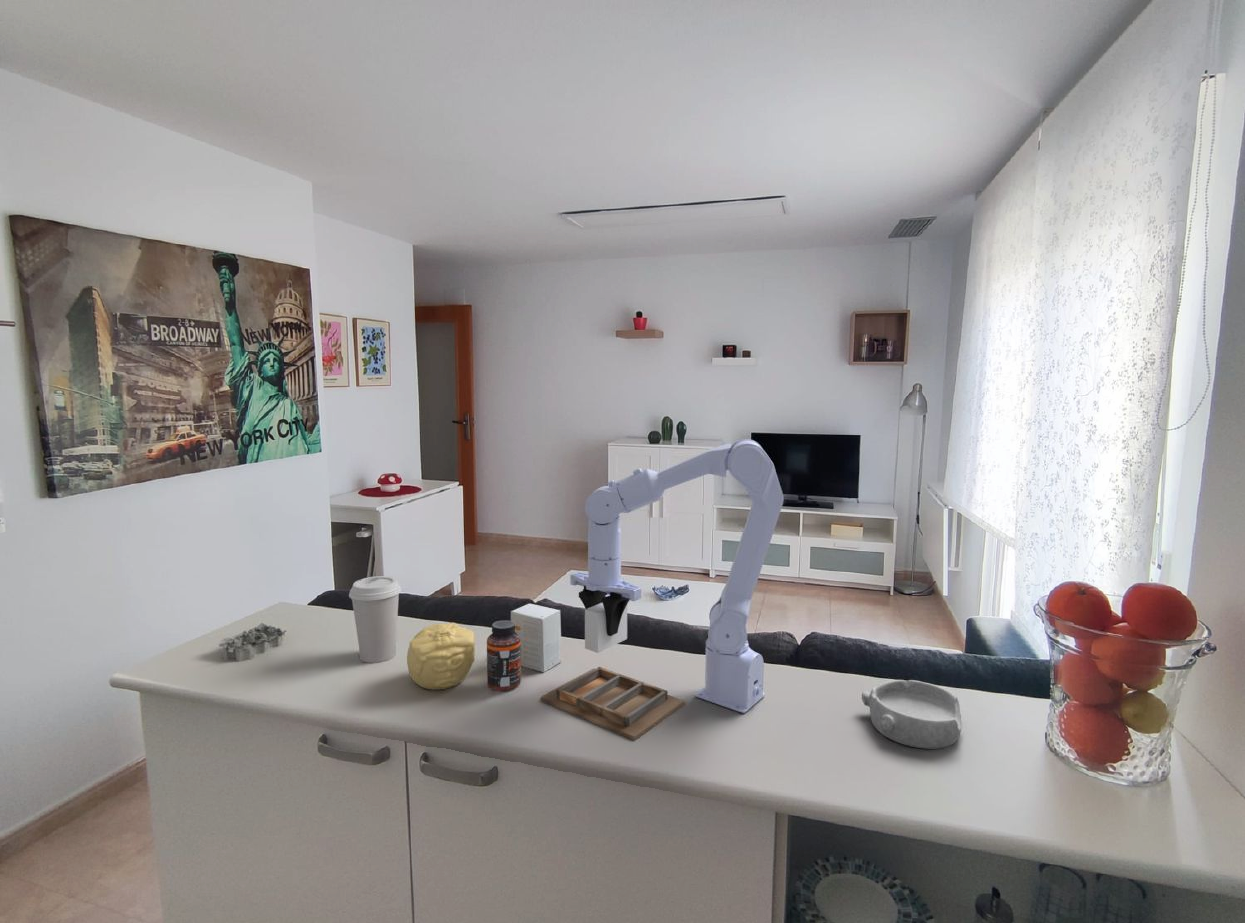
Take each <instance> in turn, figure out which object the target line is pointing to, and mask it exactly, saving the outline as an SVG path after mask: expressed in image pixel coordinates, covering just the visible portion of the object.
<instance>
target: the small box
mask: <svg viewBox="0 0 1245 923" xmlns="http://www.w3.org/2000/svg"><path fill="white" fill-rule="evenodd" d="M561 619H562V618H561V609H555V608H552V607H551V608H550V607H547V606H542V605H539V604H533V603H527V604H525V605H523V606H520V607H518V608H516V609H514V610H510V621H512V622H514V623H515V632H516V633H517V634H518V635H519V636H520V643H521V667H523V666H524V667H523V668H527V669H530V670H533V669H535V670H534V671H537V672H540V671H541V672H540V673H545V671H546V672H547V671H548V669H549V670H550V669H552V668H554V667H555V666H557V665H558V664H560V663H562V660H563V659H562V657H563V656H562V626H561V623H562V622H561Z"/></svg>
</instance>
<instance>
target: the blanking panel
mask: <svg viewBox="0 0 1245 923" xmlns="http://www.w3.org/2000/svg"><path fill="white" fill-rule="evenodd" d="M627 639H628V605H627V606H626V607H625V610H624V612H623V614H622V617H621V620H620V624H619V628H618V632H617V633H616V634H614V635H612V636H608V635H607V630H606V615H605V609H604V606H603V603H600V604H598V605H595V606H593V607H590V608H588V609H584V649H585V650H588V651H591V652H594V653H596V654H598V653H599V654H600V653H601V652H603V651H605V650H607V649H610V648H612V647H613V646H615V645H619V643H621V642H624V641H625V640H627Z"/></svg>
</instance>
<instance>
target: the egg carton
mask: <svg viewBox="0 0 1245 923" xmlns="http://www.w3.org/2000/svg"><path fill="white" fill-rule="evenodd" d="M285 633H287V630H285V629H284V631H283V630H281V628H280V627H277V628H276V626H272V625H269V626H268V625H267V624H264V623H259V624H258V625H257V626H255V627H253V628H251V629H248V630H244V631H243V632H241V633H238V634H237V635H234V636H232V637H226V638H225V637H224V638H223V639H222V640H221V641H220V643H219V644H218V647H219V648H221V647H222V656H223V659H225V660H228V659H232V658H235V660H236V662H242V661H243V662H244V661H248V660H253V659H254V658H255V656H256V655H258V654H265V653H267V652H269V649H270V648H275V647H281V646H282V645H283V642H284V641H283V640H284V639H283V637H284V636H285Z"/></svg>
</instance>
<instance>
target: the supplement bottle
mask: <svg viewBox="0 0 1245 923" xmlns="http://www.w3.org/2000/svg"><path fill="white" fill-rule="evenodd" d="M486 674H487V675H486V676H487V682H486V683H487V687H488V688H489V689H491V691H492V690H493V691H496V692H509V691H512V690H514V689H516V688H518V687H519V686H520V684H521V682H522V676H521V675H522V666H521V643H520V636H519V635H518V634H517V633H516V632H515V623H514V622H512V621H511V620H497V621H494V622H493V623H492V624H491V634H489V636H488V637H487V638H486Z"/></svg>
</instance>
